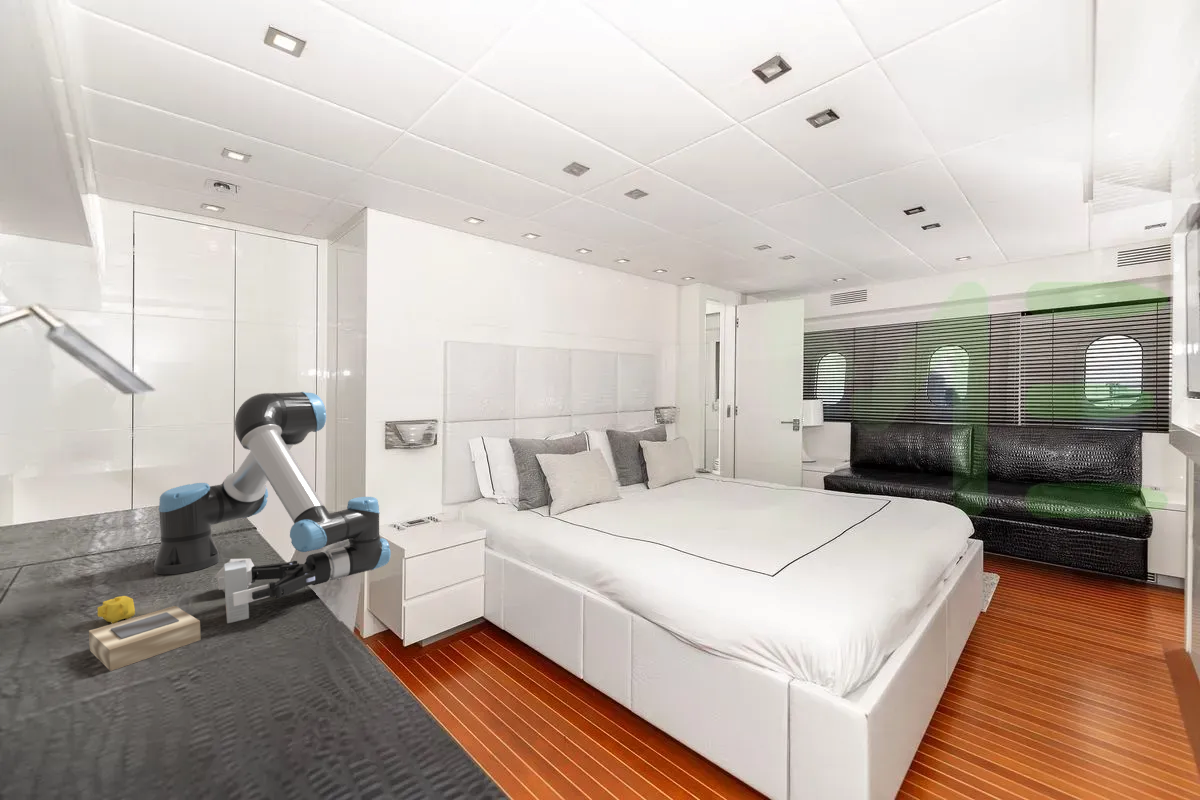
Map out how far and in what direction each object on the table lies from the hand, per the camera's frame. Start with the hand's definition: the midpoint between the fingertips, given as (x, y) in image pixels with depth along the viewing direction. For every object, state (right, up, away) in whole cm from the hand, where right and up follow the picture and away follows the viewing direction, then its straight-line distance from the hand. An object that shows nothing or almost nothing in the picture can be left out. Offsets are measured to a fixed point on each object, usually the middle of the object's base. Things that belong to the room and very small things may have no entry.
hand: (225, 591), depth 118 cm
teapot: (-26, -7, +1) cm, 27 cm away
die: (-9, -6, +18) cm, 21 cm away
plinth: (-8, -7, -11) cm, 15 cm away
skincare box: (+1, -7, +2) cm, 7 cm away
